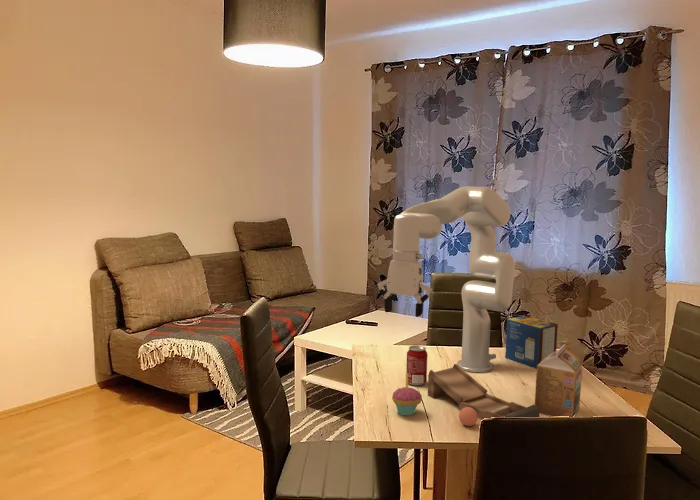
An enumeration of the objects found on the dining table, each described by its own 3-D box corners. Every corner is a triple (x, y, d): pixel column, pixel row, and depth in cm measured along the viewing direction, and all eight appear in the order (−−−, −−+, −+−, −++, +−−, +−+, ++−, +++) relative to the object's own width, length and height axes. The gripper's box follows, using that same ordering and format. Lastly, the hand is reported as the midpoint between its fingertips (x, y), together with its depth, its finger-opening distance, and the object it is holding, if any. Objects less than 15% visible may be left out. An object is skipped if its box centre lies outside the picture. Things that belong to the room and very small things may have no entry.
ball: (466, 419, 159) (467, 402, 159) (480, 426, 155) (481, 408, 155) (454, 424, 156) (455, 406, 156) (468, 430, 152) (469, 412, 152)
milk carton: (572, 420, 160) (576, 355, 158) (534, 412, 166) (538, 349, 163) (579, 408, 169) (583, 346, 167) (543, 400, 175) (546, 340, 172)
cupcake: (389, 406, 168) (390, 367, 166) (418, 406, 168) (419, 367, 167) (394, 418, 159) (395, 377, 158) (424, 418, 160) (425, 377, 158)
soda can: (425, 387, 184) (426, 351, 182) (404, 385, 185) (405, 350, 184) (427, 380, 190) (428, 345, 189) (406, 378, 192) (408, 344, 190)
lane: (426, 395, 177) (427, 369, 176) (453, 387, 184) (454, 362, 183) (511, 433, 151) (512, 403, 150) (538, 422, 159) (540, 393, 158)
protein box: (522, 354, 223) (524, 315, 221) (555, 364, 210) (558, 324, 208) (504, 358, 217) (506, 318, 215) (537, 369, 204) (540, 327, 202)
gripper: (438, 258, 165) (435, 315, 167) (384, 253, 174) (382, 307, 176) (428, 260, 159) (425, 320, 161) (373, 255, 167) (371, 312, 169)
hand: (403, 313), depth 168 cm, fingers open, 9 cm apart
